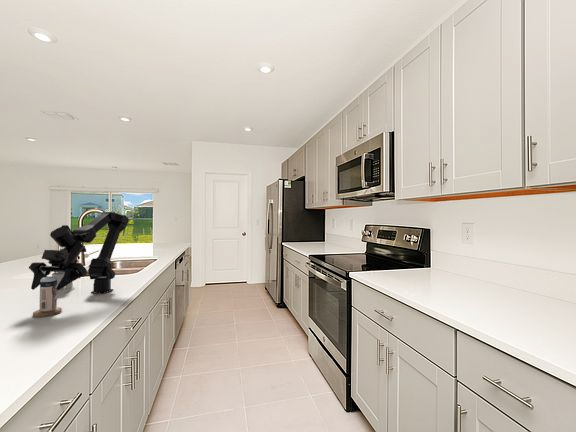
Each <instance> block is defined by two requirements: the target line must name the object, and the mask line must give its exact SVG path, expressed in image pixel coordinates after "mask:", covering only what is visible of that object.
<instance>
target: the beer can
mask: <svg viewBox="0 0 576 432" xmlns="http://www.w3.org/2000/svg"><path fill="white" fill-rule="evenodd" d="M56 288H57V278H56V277H55V276H52V275H51V276H50V275H49V276H47V277H43V278H42V279H41V280H40V285H39V309H38V310H40V311H42V312H49V311H53V310H54V309H56V308H57V303H58V301H57V300H58V299H57V296H58V293H57V289H56Z"/></svg>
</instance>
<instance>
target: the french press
mask: <svg viewBox="0 0 576 432" xmlns="http://www.w3.org/2000/svg"><path fill="white" fill-rule="evenodd" d="M61 249H64V247H61ZM64 274H65V272H52V273H51V276H55V277H56V278H57V286H58V284H59V282H60V281H61V279H62V278H63V276H64ZM75 290H76V287H74V286H73V282H71V283H69V284H68V285H66V286H64V287H63V288H61V289H60V290H57V294H58V293H66V292H67V293H68V292H71V291H75Z"/></svg>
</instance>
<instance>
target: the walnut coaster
mask: <svg viewBox="0 0 576 432" xmlns="http://www.w3.org/2000/svg"><path fill="white" fill-rule="evenodd" d="M62 310H63V308H62V307H61V306H60V307H59V306H58V307H57V308H56V309H54V310H53V311H49V312H42V311H40V310H39V309H38V310H35V311H34V312H32V317H33V318H45V317H46V318H47V317H53V316H56V315H59V314H60V313H62Z"/></svg>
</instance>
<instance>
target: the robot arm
mask: <svg viewBox="0 0 576 432" xmlns="http://www.w3.org/2000/svg"><path fill="white" fill-rule="evenodd" d="M129 221H130V219H129V218H128V216H127V215H125V214H124V215H123V214H121V213H117V212H113V211H103V212H101V213H100V214H98V216H96V218H94V219H92V221H90V222H89V223H88V224H85V225H84V226H80V227H77V228H75V229H73V230H71V228H70V226H69V225H65V224H63V225H61V226H60V227H57V228H55V229H53V230H52V231H51V232H50V234H49V235H50V237H51V239H52V240H53V241H54V242H55V243H56V244H57V245H58V246H59V247H61V248H60V249H59V250H55V249H44V251H43V254H42V256H41V259H42V260H45V261H48V262H47V263H48V264H49V265H47V264H46V263H45V262H36V261H35V262H32V263H30V265H29V266H28V269H30V271H31V272H32V273H33V279H32V283H31V287H30V288H31V289H32V291H34V290H35V289H37V288H38V287H40V280H41V279H42V278H43V277H48V276H50V274H52V273H57V272H65V274H64V276H63V278H62V279H61V281H60V282H59V284H58V286H57V288H56V289H57V290H60V289H61V288H63V287H64V286H66V285H68V284H69V283H71V282H72V283H73V282H74V281H77V280H78V279H81V278H85V276H86V274H88V275H89V279H90V280H93V287H92V288H93V290H92V291H91V292H90V293H92V294H106V293H109V292H112V291H114V289H113V288H112V287H111V285H112V280H113V279H114V278H115V277H116V272H115V271H114V270H113V268H112V267H113V263H112V260H111V259H112V255H113V253H114V251H115V247H116V245H117V242H118V240H119V237H120V234H121V232H123V231H124V230H125V229H126V228H127V226H128V224H129ZM106 225H107V227H108V232H107V233H106V236H105V239H104V241H103V244H102V247H101V249H100V252H99V255H98V256H97V257H96V258H95V257H94V258H92V259H91V260H90V263H89V265H88V269H87V268H86V267H85V266H84V265H83V264H82V263H81V262H78V257H79V255H80V254H81V253H86V252H87V249H86V245H83V244H90V243H92V241H94V239H95V238H96V237H97V233H98V232H99V231H100V230H101V229H102V228H104V227H106ZM62 247H63V249H62Z"/></svg>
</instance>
